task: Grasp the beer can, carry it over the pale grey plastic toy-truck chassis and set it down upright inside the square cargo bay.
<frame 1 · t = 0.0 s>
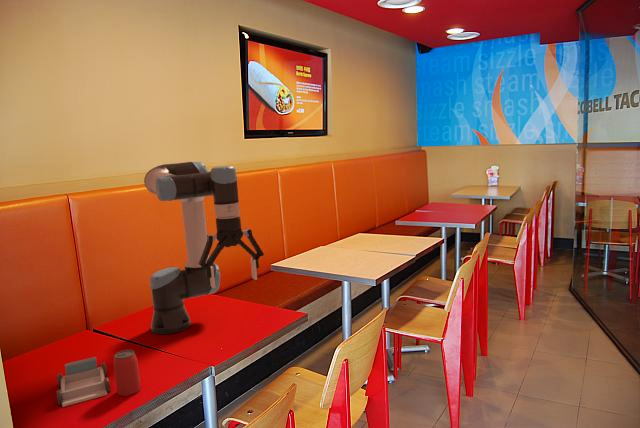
hand: (234, 283, 156), 28 cm above the table, fingers open, 13 cm apart
chassis: (84, 388, 153), on the table
beer can: (129, 391, 149), on the table
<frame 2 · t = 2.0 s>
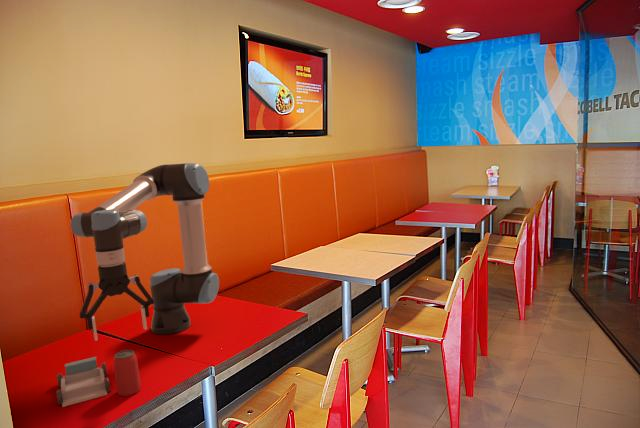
hand: (121, 333, 146), 18 cm above the table, fingers open, 13 cm apart
nothing on the table moved.
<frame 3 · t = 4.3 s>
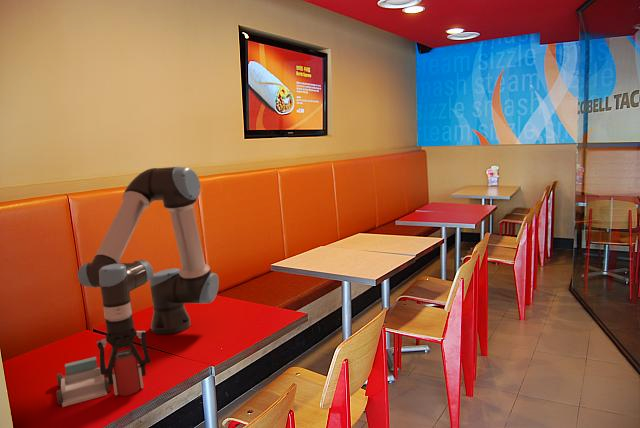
hand: (128, 389, 149), 0 cm above the table, fingers closed on beer can, 7 cm apart
beer can: (129, 391, 149), on the table, touching gripper
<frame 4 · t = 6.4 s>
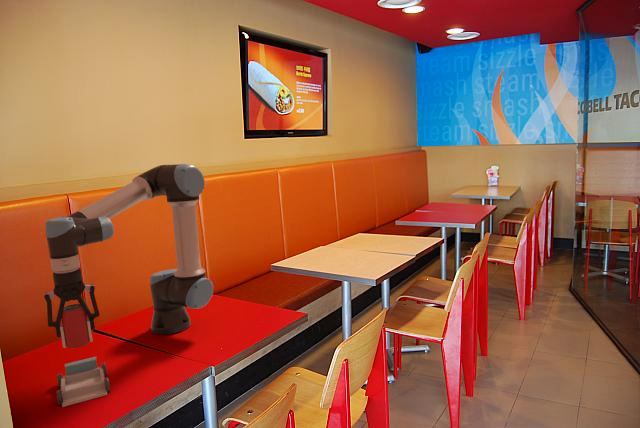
hand: (78, 343, 150), 15 cm above the table, fingers closed on beer can, 7 cm apart
beer can: (78, 345, 150), point 14 cm above the table, touching gripper
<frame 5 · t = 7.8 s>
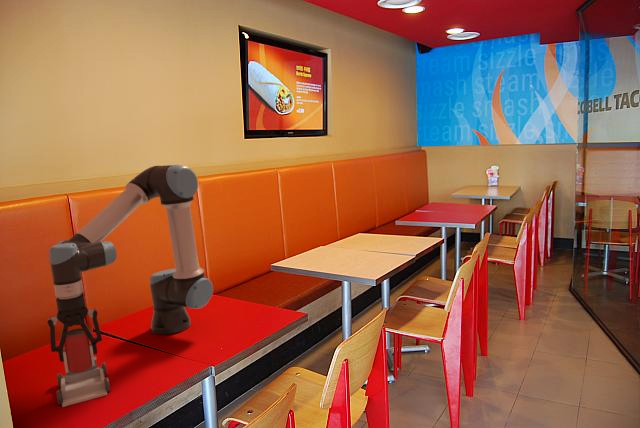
hand: (80, 367, 152), 7 cm above the table, fingers closed on beer can, 7 cm apart
beer can: (80, 369, 152), point 6 cm above the table, touching gripper
when the fingers open (3 cm above the table, at t = 8.8 s): beer can drops 2 cm, resting on chassis.
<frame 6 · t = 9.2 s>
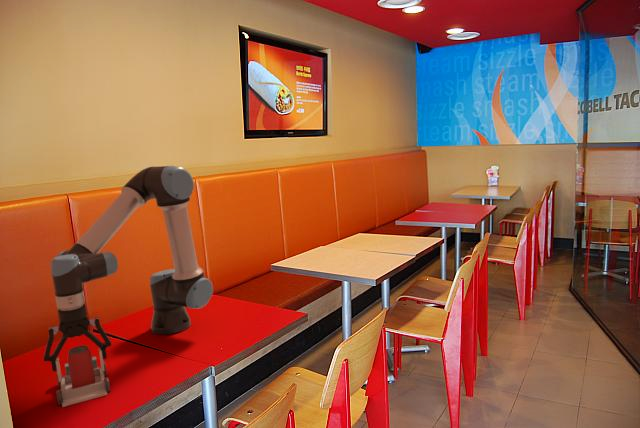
hand: (82, 374, 152), 5 cm above the table, fingers open, 11 cm apart
beer can: (84, 386, 153), point 1 cm above the table, touching chassis
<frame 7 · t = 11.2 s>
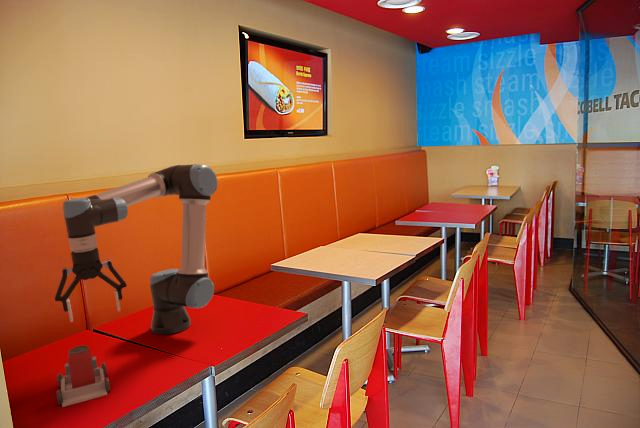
hand: (95, 315, 154), 21 cm above the table, fingers open, 13 cm apart
nothing on the table moved.
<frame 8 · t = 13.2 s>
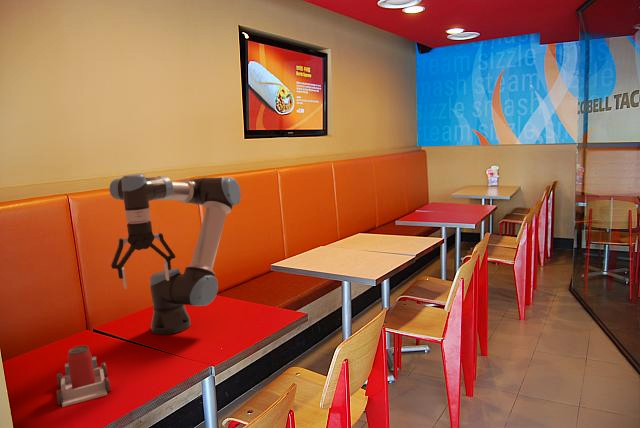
hand: (146, 283, 167), 27 cm above the table, fingers open, 13 cm apart
nothing on the table moved.
at the end: beer can 0.1 cm off-centre on the chassis, point 0.6 cm above the chassis's base; beer can tilted 0°; the gripper is holding nothing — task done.
